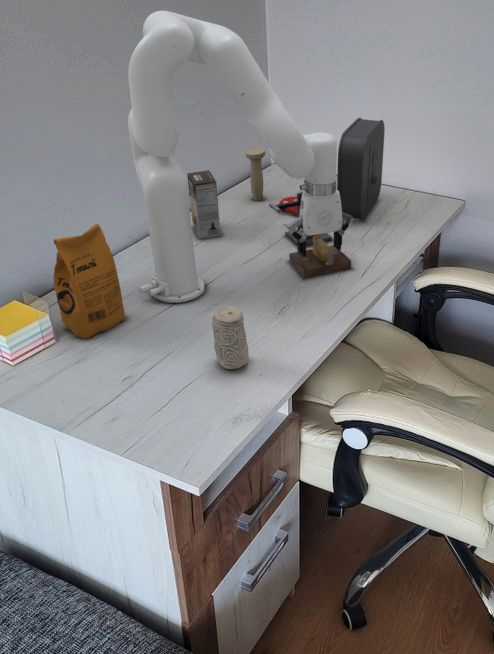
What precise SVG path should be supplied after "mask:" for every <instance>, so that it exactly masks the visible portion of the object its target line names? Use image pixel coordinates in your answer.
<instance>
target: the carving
mask: <svg viewBox="0 0 494 654" xmlns="http://www.w3.org/2000/svg"><path fill="white" fill-rule="evenodd" d="M244 319H245V317H244V314H243V312H242V310H241V309H239V308H238V307H235V306H226V307H221V308H218V309H216V310H215V311H214V312H213V314H212V316H211V326H212V334H213V344H214V351H215V355H216V359H217V362H218V363H219V365H220V366H221V367H223V368H224V369H227V370H235V369H240V368H242V367H244V366H245V365H246V364H247V363H248V362H249V345H248V339H247V333H246V329H245V325H244V324H245V323H244Z"/></svg>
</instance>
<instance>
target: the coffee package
mask: <svg viewBox="0 0 494 654" xmlns="http://www.w3.org/2000/svg"><path fill="white" fill-rule="evenodd" d="M53 245H55V248H56V250H57V252H56V259H55V260H56V262H55V265H54V269H53V276H52V277H53V287H54V291H55V295H56V301H57V305H58V308H59V314H60V317H61V322H62V323H63V324H64V327H65V328H66V329H67V330H70V331H71V332H72V333H73V334H74V335H75V336H76V337H78V338H81V339H85V340H87V339H89V338H91V337H93V336H94V335H96V334H97V333H99V332H102V331H109V330H111V329H113V328H114V327H115V326H117V325H118V324H119V323H121V322H122V321H124V320H126V313H125V308H124V302H123V295H122V289H121V284H120V280H119V276H118V268H117V266H116V262H115V258H114V255H113V253H112V251H111V248H110V247H109V245H108V243H107V240H106V237H105V234H104V231H103V229H102V227H101V225H99V224H98V223H94V224H93V225H91V226H90V227H89V228H88V229H87V230H86V231H85V232H83V234H81V235H75V236H68V237H61V238H53Z"/></svg>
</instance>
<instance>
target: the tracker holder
mask: <svg viewBox="0 0 494 654" xmlns="http://www.w3.org/2000/svg"><path fill="white" fill-rule="evenodd" d="M300 192H302V190H299V191H298V193H300ZM293 201H297V196H288V197H284V198H282V199H281V200H279V203H278V204H283V203H288V202H293ZM284 211H287V212H289V213H290V214H293V215H295V216H297V206H294V207H289V208H284V209H281V212H284Z"/></svg>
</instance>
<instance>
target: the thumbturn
mask: <svg viewBox="0 0 494 654" xmlns="http://www.w3.org/2000/svg"><path fill="white" fill-rule="evenodd" d="M328 246H329V244H328V242H325V241H324V240H323V239H322V238H321V237H320V236H319V235H318V236H313V245H312V249H313V254H314V255H315V256H316V257H317V258H318V259H319V260H320V261H321V262H322V261H327V258H328Z"/></svg>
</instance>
